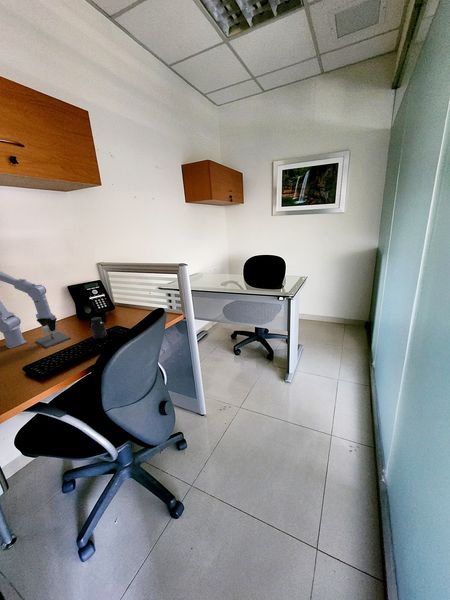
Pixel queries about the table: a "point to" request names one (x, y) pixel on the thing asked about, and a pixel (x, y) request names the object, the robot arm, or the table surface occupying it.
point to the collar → (48, 330)
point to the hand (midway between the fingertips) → (50, 330)
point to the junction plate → (53, 339)
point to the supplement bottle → (98, 328)
